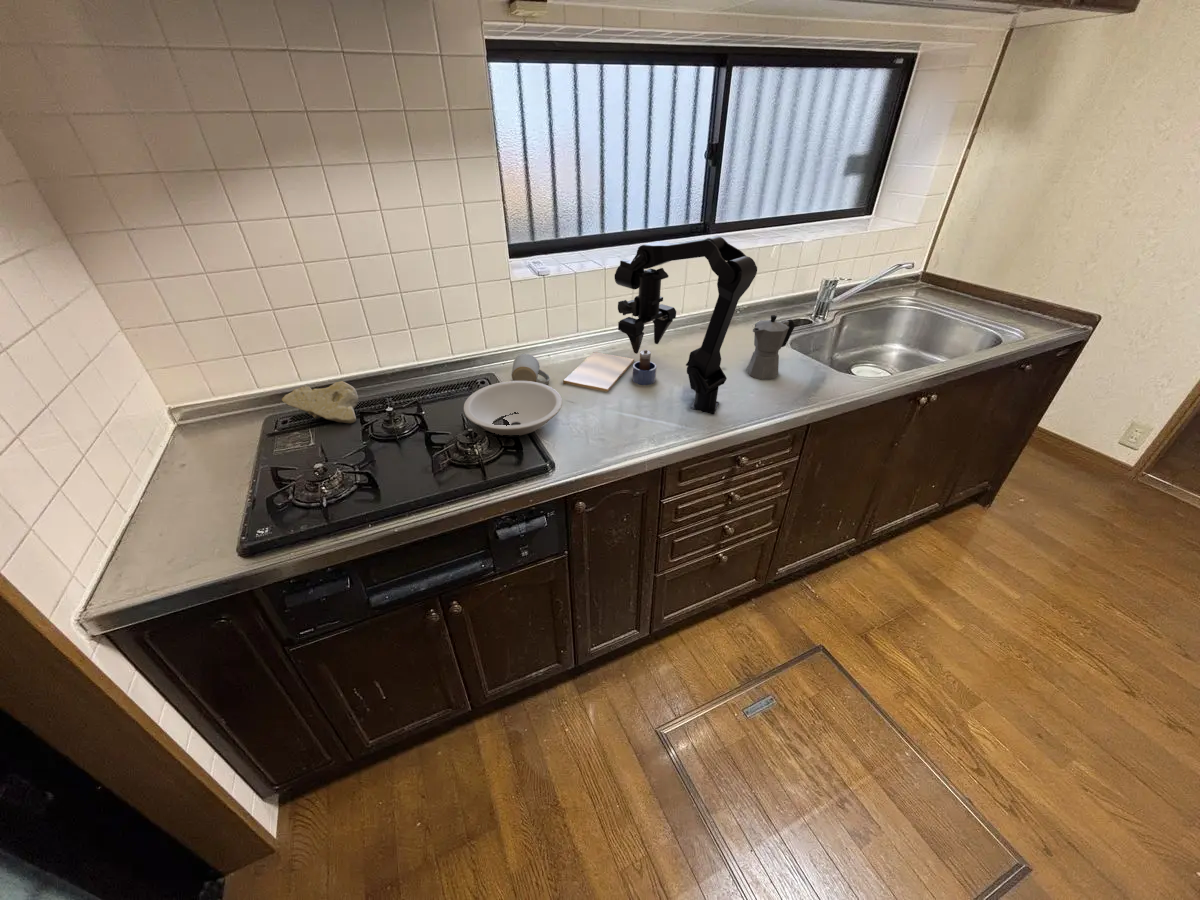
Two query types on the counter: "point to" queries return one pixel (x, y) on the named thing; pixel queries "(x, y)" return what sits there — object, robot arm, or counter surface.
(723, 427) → the counter surface
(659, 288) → the robot arm
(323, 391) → the beige irregular pointed piece
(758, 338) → the coffeepot
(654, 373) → the holder cup
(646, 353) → the pepper mill
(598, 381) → the bamboo board
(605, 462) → the counter surface
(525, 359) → the ceramic mug
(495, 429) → the soup bowl
